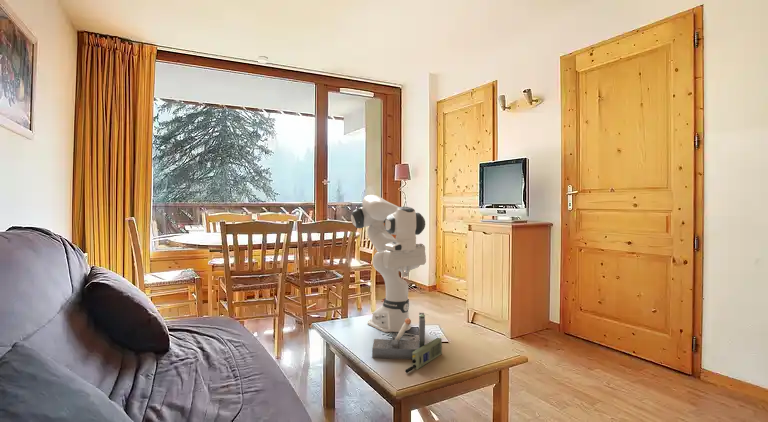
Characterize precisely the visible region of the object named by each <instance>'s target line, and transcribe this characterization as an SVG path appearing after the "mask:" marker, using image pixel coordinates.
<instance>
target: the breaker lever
mask: <svg viewBox="0 0 768 422" xmlns="http://www.w3.org/2000/svg"><path fill="white" fill-rule="evenodd" d="M409 324H410V325H411V324H412V319H411V318H410V317H409V318H407V319H405V323H404V324H403V326H402V328H401V330H400V331H399V332H397V334H396V336H397V337H396V338H395V340H398V343H399V341H400V340H402V338H403V336H404V334H405V332H406V331H407V330H406V329H407V327H408V325H409Z"/></svg>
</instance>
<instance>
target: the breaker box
mask: <svg viewBox="0 0 768 422" xmlns="http://www.w3.org/2000/svg"><path fill="white" fill-rule="evenodd" d="M396 337H397V335H396V336H395V335H392V337H391V339H389V338H388V339H385V338H384V339H383V338H382V339H381V338H374V339H373V342H372V343H373V344H372V347H371V348H372V351H371V352H372V353H371V355H372V357H371V359H372V358H373V359H393V360H395V359H396V360H397V359H399V360H413V357H412V356H413V354H412V353H413V351H415V350H417V349H419V348H420V347H422V346H424V345H426V342H425V341H426V314H425V312H419V313H418V339H417V340H415V339H400V341H399V343H398V340H395V338H396Z"/></svg>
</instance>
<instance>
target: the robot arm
mask: <svg viewBox="0 0 768 422" xmlns="http://www.w3.org/2000/svg"><path fill="white" fill-rule="evenodd" d="M361 203H362V206H361V207H356V208H355V209H354V210H352V212H351V213H350V220H351V223H352V225H353V226H354V227H355V228H356V229H363V228H367V227H368V228H367V237H368V239H369V240H370V242H371V244H372V246H373V247H374V248H375V250H376V252H375V253H374V255H373V256H372V265H373V268H374V270H376V271H377V272H378V273H379V274H380V275H381V276H382V278H383V281H384V284H385V298H383V299H381V302H382V305H381V306H380V307H378V308H377V309H375V310H374V311H373V313H372V317H371V319H369V320H368V321H367V325H369V326H370V327H373V328H375V329H377V330H379V331H382V332H384V333H390V332H392V333H393V332H394V333H399V331H400V330H401V328H402V326H403V324H404V323H405V319H407V318H409V319H410V313H409V308H410V307H409V306H410V299H409V284H408V282H407V281H406V280H405V279H403V278H405V277H409V275H410V272H411V270H416V269H418V268H419V267H420V266H422V265H423V266H424V265H425V264H426V262H427V255H426V246H425V245H424V244H423V243H417V236H418V235H421V233H423V231H424V229H425V228H426V220H425V217H424V216H423V215H422V214H421V213H420V212H416V210H415V209H414V208H413V207H410V206H398V205H396V204H394V203H392V202H389V201H388V200H386V199H384V198H383V197H381V196H379V195H376V194H373V193H372V194H368V195H365V197H364V198H363V200H362V202H361ZM393 235H394V236H395V237H394V236H393ZM416 235H417V236H416ZM399 272H400V274H399ZM400 276H401V277H400ZM411 328H412V325H411V323H410V324H409V325H408V327H407V329H406V331H409V330H410V329H411Z"/></svg>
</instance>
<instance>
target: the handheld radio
mask: <svg viewBox="0 0 768 422" xmlns="http://www.w3.org/2000/svg"><path fill="white" fill-rule="evenodd" d="M442 341H443V339H442V338H441V337H435V338H434V339H433V340H431V341H429V342H427V343H425V345H424V346H422V347H420V348H419V349H417V350H415V351H413V353H412V354H413V356H412V357H413V359H411V362H412V365H411V366H410V367H408V368H406V369H405V370H404V371H405V373H406V374H408V373H410V372H411V371H413V370H420V369H421V368H423V367H424V366H425V365H426V364H428V363H430V362H431V361H433V360H435V359H436V358H438V357H439V356H440V355H442V353H443V346H442V345H443V342H442Z"/></svg>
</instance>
